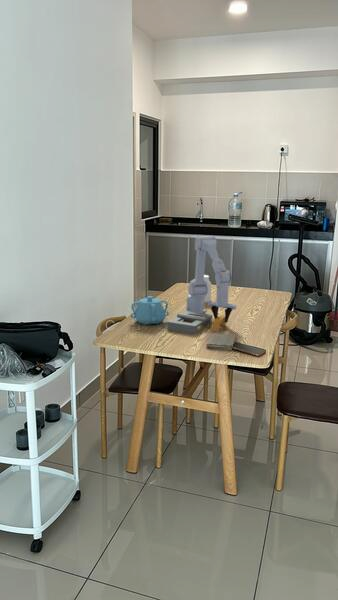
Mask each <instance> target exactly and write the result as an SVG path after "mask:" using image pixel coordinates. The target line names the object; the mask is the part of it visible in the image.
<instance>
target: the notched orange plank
mask: <svg viewBox="0 0 338 600" xmlns="http://www.w3.org/2000/svg"><path fill="white" fill-rule="evenodd" d="M226 325H227V323H225V315H222V314H221V315H218V317H217V318H216V319H212V323H211V332H219V330H220V326H222V327H225V326H226Z"/></svg>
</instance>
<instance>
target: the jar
mask: <svg viewBox="0 0 338 600" xmlns="http://www.w3.org/2000/svg"><path fill="white" fill-rule="evenodd" d="M204 280H205V281H206V282H207V283H208V293H207V294H206V296H205V297H204V303H208V302H212V282H211V281H210V275H208V274H204Z"/></svg>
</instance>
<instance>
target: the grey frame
mask: <svg viewBox="0 0 338 600" xmlns="http://www.w3.org/2000/svg"><path fill="white" fill-rule="evenodd" d="M182 320H183V321H182ZM186 321H190V322H186ZM212 321H213V314H209V313H196V312H189V311H186V310H185V311H183V312H181V313H179V312H178V313H177V314H176V316H175V317H173V318H171V319H170V320H168V321H167V322H166V324H167V325H166V331H167V330H169V331H172V332H180V333H187V334H191V335H196V334H197V333H198V332H199V330H198V329H199V327H200V326H201V325H203V324H209V325H211V324H212V323H211V322H212Z"/></svg>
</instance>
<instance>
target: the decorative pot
mask: <svg viewBox="0 0 338 600" xmlns="http://www.w3.org/2000/svg"><path fill="white" fill-rule="evenodd" d="M163 303H165V307H164V306H163ZM135 305H136V306H135ZM134 306H135V309H134ZM168 306H169V303H168V301H167V300H165V299H164V300H163V299H161V300H160V299H159V298H155V297H154V296H152V295H147V296H146V297H145V298H141V299H140V298H139V299H138V301H134V302H132V304H131V306H130V307H131V310H132V313H131V314H130V317H131V319H135V320H136V321H137V322H138V324H139V323H140V324H142V326H143V325H144V326H148V325H149V324H151V325H153V324H154V325H160V324H161V323H162V322H164V320H165V319H166V317H168V316H169V314H170V313H169V311H167V310H168Z"/></svg>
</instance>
